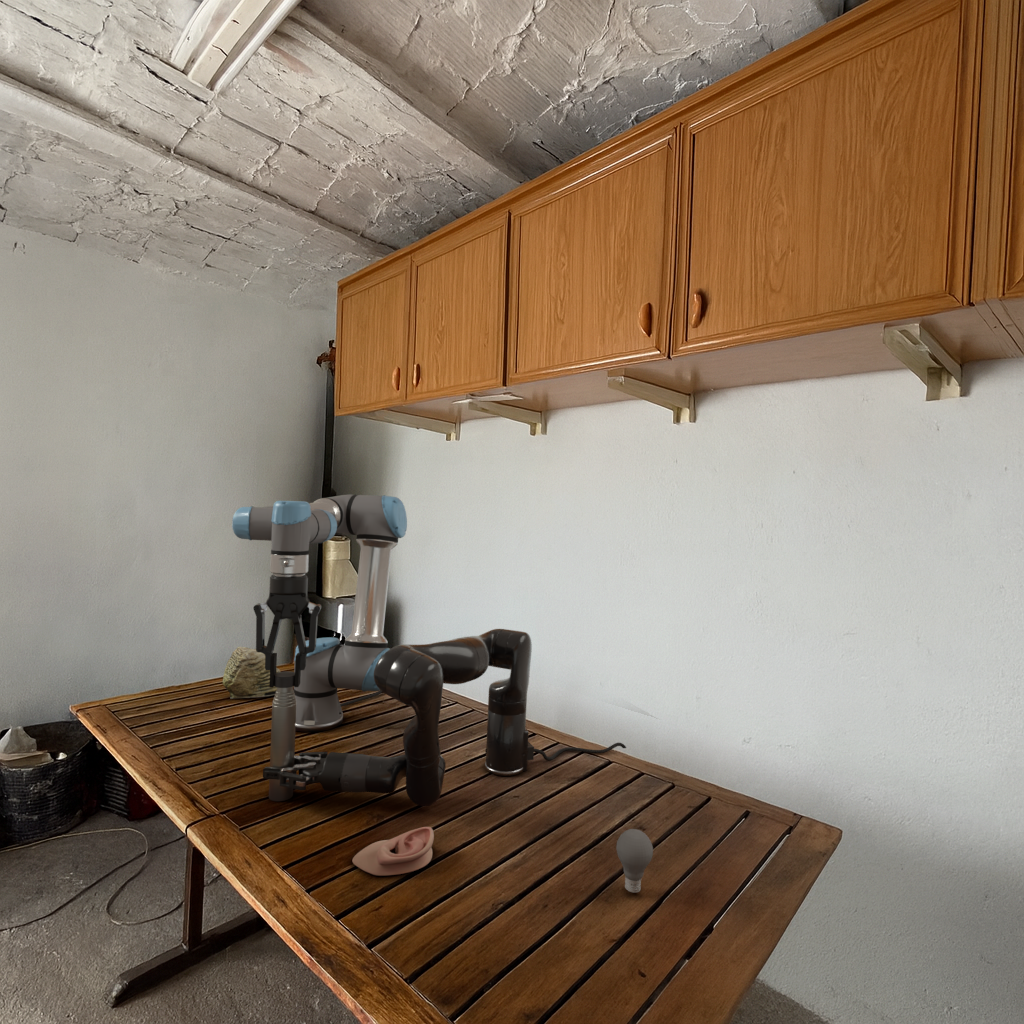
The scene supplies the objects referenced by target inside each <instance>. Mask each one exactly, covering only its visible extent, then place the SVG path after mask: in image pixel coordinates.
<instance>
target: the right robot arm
mask: <svg viewBox="0 0 1024 1024" xmlns="http://www.w3.org/2000/svg"><path fill="white" fill-rule="evenodd" d="M532 651H533V643H532V638H531V636H530V634H529V633H528V632H526V631H520V630H514V629H507V628H494V629H493V628H492V629H491V630H488V631H486V632H483V633H482V634H479V635H470V636H461V637H458V638H457V637H456V638H453V639H448V640H443V641H437V642H432V643H425V644H423V643H421V644H399V645H395V646H393V647H392V648H391V647H390V648H389V650H388V651H387V652H385V653H384V654H383V655H382V656H381V658H380V659H379V660H378V662H377V664H376V666H375V669H374V681H375V683H376V685H377V687H378V688H379V689H380V690H381V691H382V693H383V694H384V695H387V696H389V697H390V698H392V699H394V700H396V701H398V702H399V703H401V704H403V705H405V706H408V707H411V708H412V709H413V711H414V713H415V716H414V717H412V718H411V720H409V722H408V723H407V724H406V726H405V728H404V732H403V735H402V745H403V746H402V747H403V751H404V754H401V755H396V756H377V755H376V756H374V755H368V754H364V753H351V752H337V751H330V752H328V751H309V752H306V751H304V752H303V751H302V752H299V753H298V755H294V766H293V767H291V768H278V767H270V766H265V767H263V769H262V778H263V779H265V780H269V779H277V780H280V786H283V787H287V788H292V789H293V790H298V791H306V790H307V785H310V784H320V785H321V788H322V790H324V791H325V792H338V793H352V794H359V793H373V794H385V795H386V794H387V795H388V794H393V793H394V792H395V791H396V790H397V788H398V786H399V784H400V782H401V781H402V780H403V779H404V778H405V790H406V794H407V797H408V799H410V800H409V801H411V802H412V803H413V804H415V805H417V806H419V807H429V806H432V805H434V804H435V803H436V802H438V800H440V799H439V798H440V797H441V795H442V790H443V784H444V778H445V772H446V765H447V763H446V760H445V758H444V757H443V756H442V755H441V744H440V743H441V742H440V735H439V734H440V733H439V723H440V716H441V709H442V699H443V692H444V691H443V690H444V684H446V685H447V684H448V685H462V684H465V683H468V682H472V681H474V680H478V679H479V678H481V677H482V676H484V674H485V673H486V672H487V670H488V668H489V667H493V668H498V669H503V670H509V671H510V673H509V677H508V678H503V679H499V680H495V681H493V682H491V683H490V684H489V687H488V696H487V697H488V700H487V701H488V702H487V723H486V724H487V725H486V745H485V751H484V753H485V762H484V768H485V770H486V771H487V772H489V773H490V774H493V775H496V776H502V777H509V776H510V777H511V776H516V775H519V774H522V773H523V772H527V771H528V761H533V760H534V758H535V757H534V756H535V755H534V754H535V753H537V754H539V755H541V756H542V758H543V759H544V760H546V761H549V762H550V761H553V760H554V759H556V758H557V757H558V756H559V755H561V754H562V753H565V752H580V753H582V752H583V753H588V754H605V753H607V752H610V751H612V750H614V749H615V748H616V747H621V748H622V749H627V746H626V745H625V744H624V743H623V742H615V743H613V744H611V745H610V746H608V747H606V748H603V749H590V748H582V747H572V746H571V747H563V748H560V749H559V750H557V751H556V752H555V753H554V754H553V755H551V756H548V755H547V754H546V752H545V751H543V750H542V749H538V748H535V746H534V745H533V744H532V743H531V742H529V733H530V732H529V730H528V729H527V728H526V727H527V726H526V725H527V703H528V702H527V701H528V691H529V685H530V670H531V664H532V663H531V662H532V653H533V652H532ZM380 690H379V691H380ZM297 771H298V772H297ZM288 772H292V773H288ZM297 773H298V774H297Z"/></svg>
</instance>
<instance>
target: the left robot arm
mask: <svg viewBox="0 0 1024 1024" xmlns="http://www.w3.org/2000/svg"><path fill="white" fill-rule="evenodd" d="M231 521H232V526H231V527H232V531H233V533H234V535H235V536H236V537H237V538H238V539H242V540H249V541H268V542H271V546H270V547H271V548H270V549H271V550H270V563H269V564H270V565H269V571H270V573H271V575H270V576H269V589H268V590H269V592H268V597H267V598H266V601H263V602H261V603H260V602H258V603H256V604H254V606H253V612H254V614H255V632H256V633H255V649H256V651H257V652H261V653H263V654H265V669H266V670H270V686H269V687H274V675H275V674H276V668H277V664H278V663H277V662H278V653H277V652H274V651H275V646H276V642H277V638H278V635H279V632H280V631H279V630H280V627H281V623H282V621H283V620H286V619H287V620H292V624H293V628H294V632H295V639H296V643H297V645H296V647H295V652H294V653H295V654H294V659H293V661H294V671H293V672H295V686H293V690H294V693H295V699H296V728H295V732H301V733H316V732H325V731H329V730H332V729H335V728H337V727H339V726H340V725H342V723H343V722H344V713H343V709H342V707H346V706H350V705H353V704H356V703H359V702H362V701H364V700H365V701H366V700H368V699H371V698H374V697H375V698H376V697H378V696H379V695H381V694H382V693H383V692H382V691H381V690H380V689H379V688H378V687H377V685H376V683H375V681H374V669H375V666H376V664H377V662H378V660H379V659H380V658H381V656H382V655H383V654H384V653H385V652H387V651H388V650H389V649H390V648H389V647H388V644H389V643H388V640H387V638H386V637H385V636H384V631H385V620H386V619H385V618H386V609H387V599H388V589H389V580H390V570H391V562H392V561H391V560H392V553H393V552H392V551H393V550H394V548H395V547H397V546H398V545H399V539H402V538H403V537H405V536H406V532H407V530H408V517H407V511H406V507H405V505H404V502H403V501H402V500H401V499H400V497H399V498H398V497H397V496H391V495H383V494H382V495H377V494H376V495H375V494H350V493H349V494H341V495H335V496H329V497H321V498H318V499H316V500H314V501H313V502H308V501H303V500H302V501H301V500H276V501H275V502H273V505H272V506H252V505H251V506H241V507H239V508H238V509H236V511H235V512H234V514H233V515H232V520H231ZM336 534H342V535H348V536H349V535H351V536H356V539H355V541H356V543H357V544H358V545H359V546H360V547H359V548H360V553H359V561H358V571H357V580H356V587H355V597H354V607H353V614H352V615H353V617H352V623H351V624H352V625H351V633H350V634H349V635H348V636H347V637H346V638H345V639H344V644H341V641H340V639H339V638H338V637H334V636H331V637H330V636H329V637H318V622H319V621H318V619H319V614H320V612H321V609H322V604H320V603H317V604H316V603H314V602H311V601H310V598H309V596H308V587H309V577H308V575H307V574H308V572H309V560H310V559H309V558H310V544H311V545H312V544H323V543H326V542H328V541H330V540H332V539H333V538H334V536H335V535H336ZM268 608H269V610H270V612H271V613H272V614H273V615H274V616H273V619H272V625H271V629H270V633H269V636H268V640H267V644H266V645H265V643H266V642H265V641H266V638H265V637H266V614H265V613H266V612H267V610H268ZM307 608H308V613H309V614H310V617H309V618H310V619H309V620H310V621H309V632H308V633H309V634H308V635H309V636H308V639H307V640H306V637H305V632H304V627H303V620H302V614H303V612H304V611H305V610H306V609H307ZM317 637H318V638H317ZM338 689H342V690H343V689H344V690H351V691H353V690H354V691H362V692H365V693H366V692H374V693H371V694H368V695H364V696H361V697H359V698H355V699H352V700H348V701H345V702H342V703H341V702H340V699H339V695H338Z"/></svg>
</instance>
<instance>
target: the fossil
mask: <svg viewBox="0 0 1024 1024" xmlns="http://www.w3.org/2000/svg"><path fill="white" fill-rule="evenodd" d="M278 672H281V669H279V668H278V667H276V673H278ZM222 676H223V677H222V685H223V687H224V688H225V690H226V691H228V693H229V698H230V699H250V698H264V697H271V696H275V694H276V691H277V687H275V686H274V687H269V686H270V670H266V669H265V654H263V653H261V652H257V651H256V648H251V647H247V646H246V647H245V646H238V647H237V648H236V649H235V650H233V651H232V653H231V656H230V657H229V659H228V660H227V663H226V666H225V668H224V671H223V675H222Z"/></svg>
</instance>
